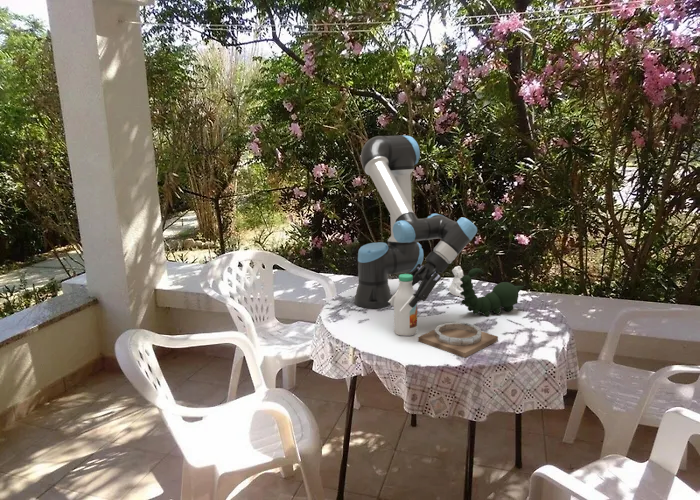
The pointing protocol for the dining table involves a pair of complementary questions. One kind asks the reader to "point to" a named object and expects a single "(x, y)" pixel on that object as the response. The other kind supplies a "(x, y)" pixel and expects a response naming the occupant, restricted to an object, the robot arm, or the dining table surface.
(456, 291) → the seated beast figurine
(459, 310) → the dining table surface
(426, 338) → the plate
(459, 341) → the metal collar
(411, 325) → the milk bottle
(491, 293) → the toy figurine
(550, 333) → the dining table surface
